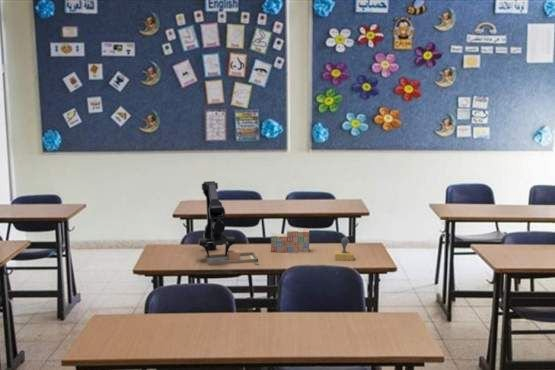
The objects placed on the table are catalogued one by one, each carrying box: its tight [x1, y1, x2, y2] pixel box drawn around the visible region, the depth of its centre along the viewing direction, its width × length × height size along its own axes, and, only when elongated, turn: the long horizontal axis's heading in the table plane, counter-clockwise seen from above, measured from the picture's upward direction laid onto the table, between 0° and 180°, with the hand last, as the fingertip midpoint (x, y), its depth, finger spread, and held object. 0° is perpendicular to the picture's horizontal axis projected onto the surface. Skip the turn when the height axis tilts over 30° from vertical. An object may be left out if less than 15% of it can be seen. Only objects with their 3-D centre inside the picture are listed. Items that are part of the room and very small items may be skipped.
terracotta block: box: [227, 249, 241, 260], centre depth 334 cm, size 5×6×4 cm
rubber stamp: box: [334, 237, 355, 261], centre depth 337 cm, size 10×6×12 cm, turn 85°
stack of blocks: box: [270, 228, 310, 254], centre depth 353 cm, size 21×6×12 cm, turn 86°
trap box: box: [205, 251, 259, 266], centre depth 332 cm, size 13×26×3 cm, turn 103°
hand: (217, 256), depth 332 cm, fingers open, 9 cm apart
